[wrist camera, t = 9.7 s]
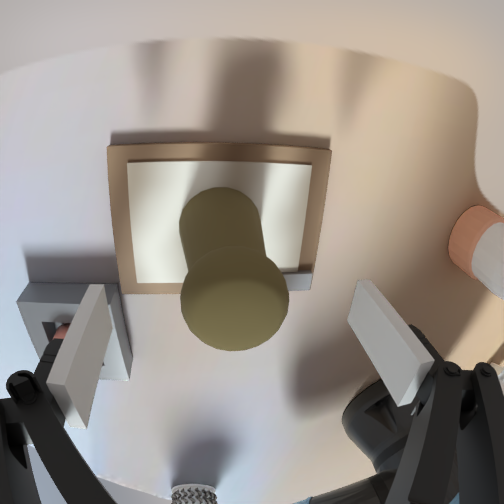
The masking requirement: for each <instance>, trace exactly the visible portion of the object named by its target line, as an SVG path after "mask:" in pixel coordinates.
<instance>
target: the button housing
mask: <svg viewBox="0 0 504 504" xmlns="http://www.w3.org/2000/svg"><path fill="white" fill-rule="evenodd" d="M89 285H90V284H83V283H28V285H27V286H26V288H25V289H24V291H23V292H22V294H21V295H20V297H19V298H18V300H17V301H16V302H17V305H18V308H19V310H20V313H21V316H22V318H23V321H24V324H25V326H26V329H27V331H28V334H29V336H30V338H31V341H32V343H33V345H34V348H35V350H36V352H37V355H38V357H39V359H41V357H42V355H43V352H44V350H45V348H46V346H47V345H48V344H49V343H50V342H51V341H52V340H53V337H54V335H55V333H56V330H57V328H58V327H59V326H60V325H62V324H65V323H71V322H72V320H73V318H74V316H75V314H76V312H77V309H78V307H79V305H80V303H81V301H82V299H83V297H84V295H85V293H86V291H87V289H88V287H89ZM104 288H105V293H106V299H107V304H108V308H109V313H110V318H111V322H112V327H113V329H112V332H111V336H110V339H109V343H108V346H107V350H106V353H105V357H104V360H103V364H102V368H101V371H100V375H99V379H101V380H119V381H129V380H130V373H131V367H132V361H133V358H132V353H131V349H130V345H129V340H128V336H127V331H126V327H125V322H124V317H123V312H122V307H121V302H120V296H119V290H118V285H117V284H104Z"/></svg>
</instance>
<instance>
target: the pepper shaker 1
mask: <svg viewBox="0 0 504 504" xmlns="http://www.w3.org/2000/svg"><path fill="white" fill-rule="evenodd" d="M179 234H180V239H181V243H182V247H183V252H184V256H185V260H186V264H187V268H188V273H187V275H186V276H185V279H184V282H183V286H182V289H181V296H180V299H181V312H182V314H183V317H184V319H185V321H186V323H187V325H188V327H189V329H190V331H191V332H192V333H193V334H194V335H195V336H197V337H198V338H199V339H200V340H201V341H202V342H204V343H205V344H207V345H209V346H212V347H214V348H216V349H220V350H226V351H241V350H247V349H250V348H253V347H257V346H259V345H260V344H262V343H264V342H265V341H267V340H269V339H270V338H271V337H272V336H273V335H274V334H275V333H276V332H277V331H278V330H279V328H280V326H281V324H282V322H283V321H284V319H285V317H286V315H287V312H288V305H289V292H288V288H287V284H286V280H285V278H284V276H283V274H282V272H281V271H280V270H279V268H278V267H277V266H276V264H275V263H274V262H273V261H272V260H271V259H269V258H268V257H266V251H265V244H264V238H263V231H262V225H261V219H260V216H259V212H258V209H257V207H256V206H255V204H254V203H253V202H252V200H251V199H250V198H249V197H247V196H246V195H245V194H243V193H242V192H241V191H238V190H235V189H232V188H228V187H213V188H210V189H207V190H204V191H201V192H200V193H198V194H197V195H195V196H194V197H193V198H191V199H190V200H189V202H188V203H187V204H186V206H185V207H184V208H183V210H182V213H181V216H180V220H179Z"/></svg>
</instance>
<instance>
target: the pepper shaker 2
mask: <svg viewBox="0 0 504 504" xmlns="http://www.w3.org/2000/svg"><path fill="white" fill-rule="evenodd" d="M448 250H449V256H450V258H451V260H452V262H453V263H455V264H456V265H457V266H458V267H459V268H460V269H462V270H463V271H464V272H465V273H466V274H467V275H469V276H470V277H471V278H473V279H474V280H480V281H481V282H482V283H483V284H484V285H485V286H486V287H487V288H488V289H489V290H490V291H491V292H492V293H493V294H495V295H496V296H498V297H499V298H501V299H503V300H504V218H503V217H501V216H499V215H498V214H496V213H494V212H493V211H491V210H489V209H487V208H486V207H484V206H480V205H477V206H473V207H471V208H469V209H468V210H466V211H465V212H464V213H463V214H462V215H461V216H460V218H459V219H458V220H457V222H456V224H455V226H454V227H453V229H452V232H451V235H450V238H449V246H448Z"/></svg>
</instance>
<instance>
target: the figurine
mask: <svg viewBox="0 0 504 504" xmlns="http://www.w3.org/2000/svg"><path fill="white" fill-rule="evenodd" d="M490 365H491V366H492V367H493V368H494V369H495V371H496V372H497V375H498V379H499V382H500V385H501V388H502V391H503V395H504V367H503V366H500V365H498V364H495V363H493V362H491V364H490Z"/></svg>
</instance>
